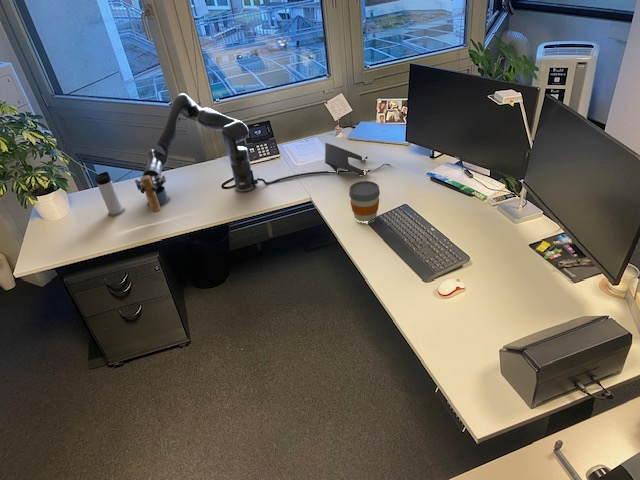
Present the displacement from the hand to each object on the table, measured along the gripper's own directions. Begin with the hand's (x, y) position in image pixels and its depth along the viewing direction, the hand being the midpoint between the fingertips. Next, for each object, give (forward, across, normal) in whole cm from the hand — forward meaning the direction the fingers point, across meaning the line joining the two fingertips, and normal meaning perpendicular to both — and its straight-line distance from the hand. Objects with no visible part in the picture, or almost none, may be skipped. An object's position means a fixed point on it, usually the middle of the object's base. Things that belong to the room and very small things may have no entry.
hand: (147, 190), depth 204 cm
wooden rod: (-3, 0, -12) cm, 12 cm away
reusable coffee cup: (+28, -91, -15) cm, 96 cm away
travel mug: (-14, +21, -16) cm, 30 cm away
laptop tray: (-19, -94, -16) cm, 97 cm away
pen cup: (-18, +2, -16) cm, 24 cm away
